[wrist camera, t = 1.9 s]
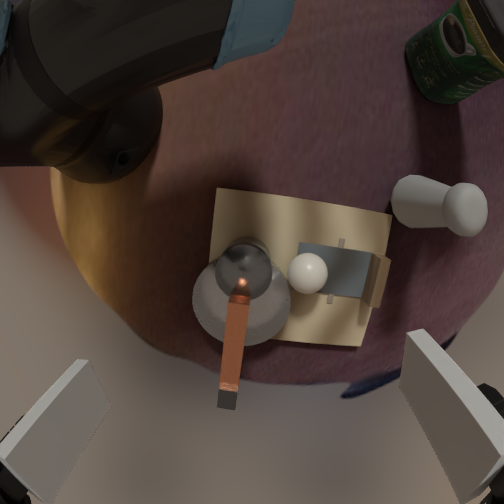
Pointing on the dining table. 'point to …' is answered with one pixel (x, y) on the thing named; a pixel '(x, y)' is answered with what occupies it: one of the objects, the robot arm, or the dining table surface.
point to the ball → (307, 273)
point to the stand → (321, 244)
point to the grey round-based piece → (240, 305)
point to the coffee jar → (459, 51)
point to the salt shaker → (439, 205)
